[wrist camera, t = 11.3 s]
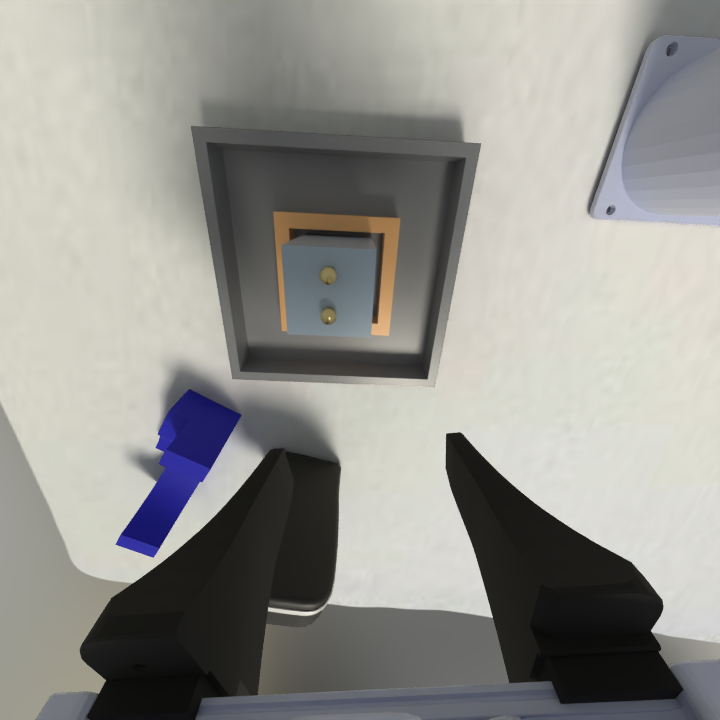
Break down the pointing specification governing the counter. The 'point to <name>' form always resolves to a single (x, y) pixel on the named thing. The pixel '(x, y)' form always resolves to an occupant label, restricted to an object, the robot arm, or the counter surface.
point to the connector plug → (329, 284)
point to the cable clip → (179, 467)
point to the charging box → (336, 217)
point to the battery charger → (307, 544)
